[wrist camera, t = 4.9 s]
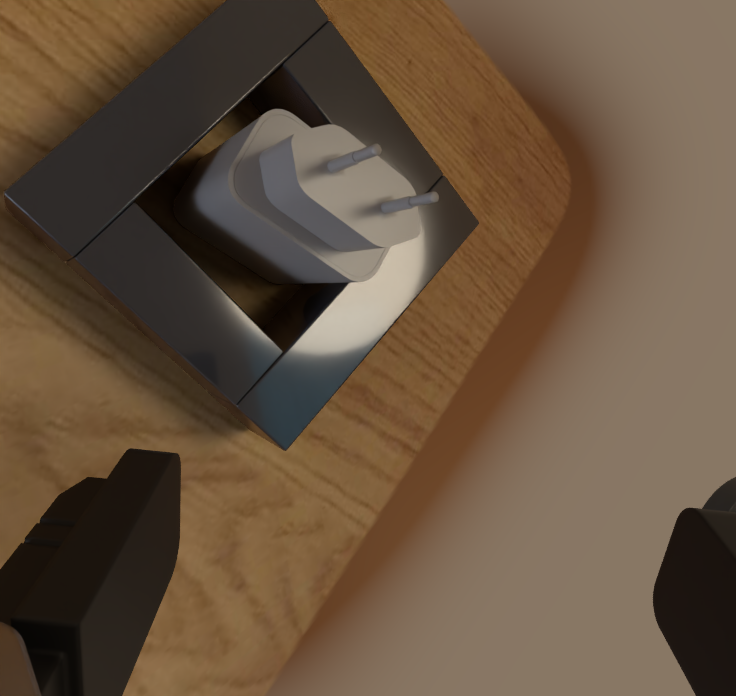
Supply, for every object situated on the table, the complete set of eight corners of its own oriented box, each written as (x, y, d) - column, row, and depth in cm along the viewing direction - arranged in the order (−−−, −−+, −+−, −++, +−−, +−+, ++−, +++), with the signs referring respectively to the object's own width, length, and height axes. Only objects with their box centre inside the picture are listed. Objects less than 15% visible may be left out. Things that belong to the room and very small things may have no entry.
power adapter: (284, 291, 27) (459, 291, 16) (165, 215, 24) (280, 157, 14) (320, 226, 27) (512, 186, 17) (207, 146, 25) (348, 38, 14)
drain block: (425, 230, 30) (480, 222, 26) (250, 430, 26) (285, 452, 23) (244, 0, 25) (281, -48, 21) (4, 208, 22) (1, 192, 18)
